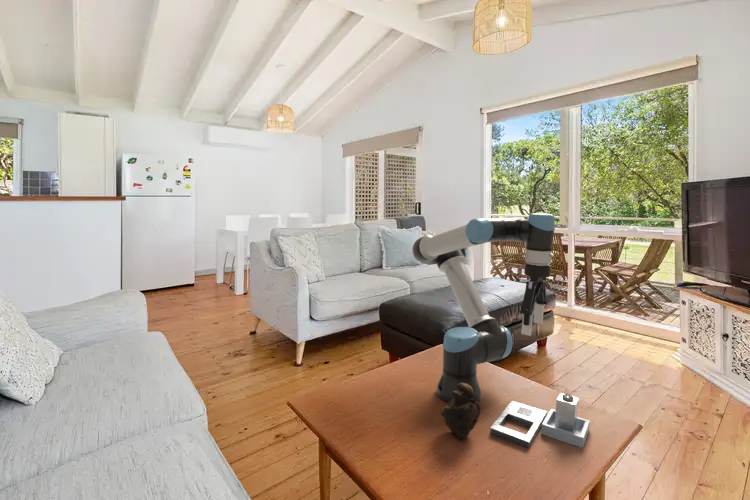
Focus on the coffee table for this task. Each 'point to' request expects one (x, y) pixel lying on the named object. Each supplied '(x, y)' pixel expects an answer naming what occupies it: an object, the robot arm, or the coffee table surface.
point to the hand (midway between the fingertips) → (532, 328)
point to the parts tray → (563, 435)
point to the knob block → (566, 412)
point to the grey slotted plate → (522, 416)
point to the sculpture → (461, 411)
